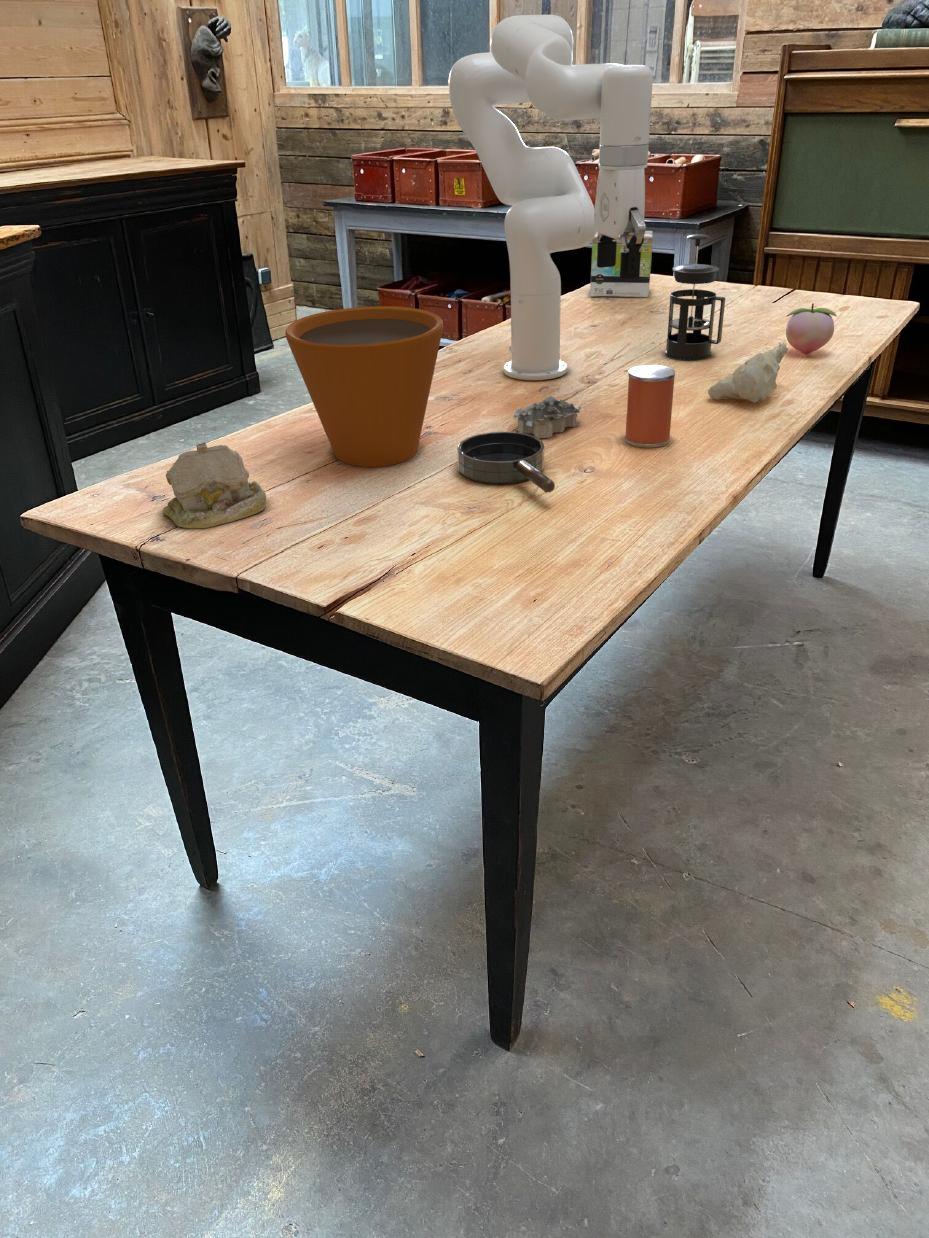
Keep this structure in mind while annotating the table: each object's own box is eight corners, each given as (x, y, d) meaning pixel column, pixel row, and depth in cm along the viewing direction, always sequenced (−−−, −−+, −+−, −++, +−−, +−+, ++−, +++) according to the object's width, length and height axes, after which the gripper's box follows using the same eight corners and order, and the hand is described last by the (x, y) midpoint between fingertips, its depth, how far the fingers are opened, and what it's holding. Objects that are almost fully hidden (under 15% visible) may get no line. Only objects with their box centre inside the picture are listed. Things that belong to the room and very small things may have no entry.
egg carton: (542, 442, 153) (542, 417, 150) (509, 431, 157) (508, 407, 155) (584, 424, 159) (585, 400, 157) (551, 415, 163) (551, 392, 161)
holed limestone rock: (727, 424, 162) (805, 369, 156) (703, 390, 162) (780, 333, 156) (734, 423, 176) (805, 373, 170) (711, 391, 176) (782, 340, 170)
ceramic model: (171, 535, 127) (155, 465, 122) (159, 505, 136) (144, 439, 130) (273, 515, 131) (263, 447, 126) (255, 487, 140) (245, 422, 135)
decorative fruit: (824, 348, 193) (832, 298, 188) (833, 359, 186) (842, 307, 181) (777, 348, 194) (784, 298, 189) (785, 359, 187) (792, 308, 182)
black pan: (445, 462, 146) (444, 440, 144) (520, 448, 150) (520, 426, 148) (479, 491, 136) (478, 468, 134) (559, 475, 140) (559, 452, 138)
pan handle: (514, 471, 136) (514, 459, 135) (525, 469, 137) (525, 457, 136) (545, 495, 129) (545, 483, 128) (557, 493, 129) (557, 480, 128)
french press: (654, 357, 192) (662, 237, 180) (671, 346, 199) (681, 230, 187) (709, 364, 186) (722, 241, 175) (725, 352, 193) (738, 233, 181)
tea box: (589, 298, 240) (591, 236, 233) (591, 289, 249) (593, 230, 241) (649, 298, 238) (653, 235, 230) (649, 289, 247) (652, 229, 239)
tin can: (616, 437, 153) (620, 369, 147) (653, 430, 155) (658, 362, 150) (640, 451, 147) (644, 380, 142) (678, 443, 150) (684, 373, 144)
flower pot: (286, 439, 158) (268, 318, 147) (418, 416, 165) (410, 299, 155) (325, 489, 139) (308, 353, 128) (472, 460, 146) (467, 330, 136)
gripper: (580, 154, 152) (577, 264, 161) (623, 164, 138) (616, 285, 147) (623, 151, 154) (618, 261, 163) (670, 161, 140) (661, 280, 148)
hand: (617, 272), depth 155 cm, fingers open, 9 cm apart
